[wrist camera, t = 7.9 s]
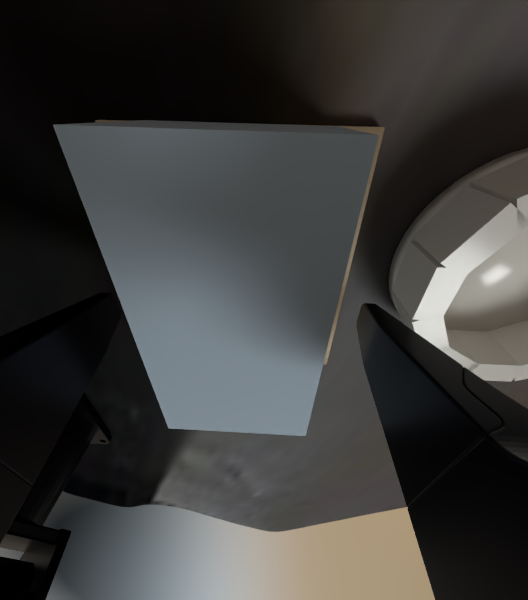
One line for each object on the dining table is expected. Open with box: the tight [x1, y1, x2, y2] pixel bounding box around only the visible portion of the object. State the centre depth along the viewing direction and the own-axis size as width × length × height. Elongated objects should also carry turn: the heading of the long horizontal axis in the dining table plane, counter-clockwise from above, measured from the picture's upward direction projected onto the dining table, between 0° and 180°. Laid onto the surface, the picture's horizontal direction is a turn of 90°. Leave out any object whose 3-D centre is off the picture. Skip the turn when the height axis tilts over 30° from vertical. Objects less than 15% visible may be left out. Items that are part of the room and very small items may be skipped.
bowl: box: [389, 148, 528, 381], centre depth 10 cm, size 8×8×3 cm
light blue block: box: [53, 120, 379, 436], centre depth 10 cm, size 11×6×4 cm, turn 178°
